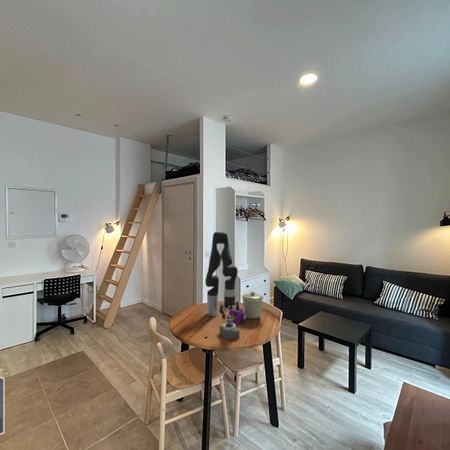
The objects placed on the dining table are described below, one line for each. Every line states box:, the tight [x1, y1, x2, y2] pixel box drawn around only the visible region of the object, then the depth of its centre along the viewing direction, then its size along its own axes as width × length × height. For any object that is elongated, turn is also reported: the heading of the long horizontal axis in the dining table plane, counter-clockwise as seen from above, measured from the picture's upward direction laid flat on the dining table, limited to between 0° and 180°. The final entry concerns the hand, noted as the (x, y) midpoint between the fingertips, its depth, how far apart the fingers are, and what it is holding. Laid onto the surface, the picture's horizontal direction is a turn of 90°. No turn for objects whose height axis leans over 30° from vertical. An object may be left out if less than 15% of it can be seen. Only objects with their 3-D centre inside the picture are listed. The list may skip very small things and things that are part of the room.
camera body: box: [219, 323, 240, 341], centre depth 168 cm, size 12×9×7 cm
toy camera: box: [228, 307, 247, 324], centre depth 193 cm, size 11×14×10 cm
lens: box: [225, 314, 233, 327], centre depth 168 cm, size 5×5×8 cm
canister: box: [241, 290, 264, 320], centre depth 203 cm, size 18×18×21 cm
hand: (229, 317), depth 168 cm, fingers open, 8 cm apart
